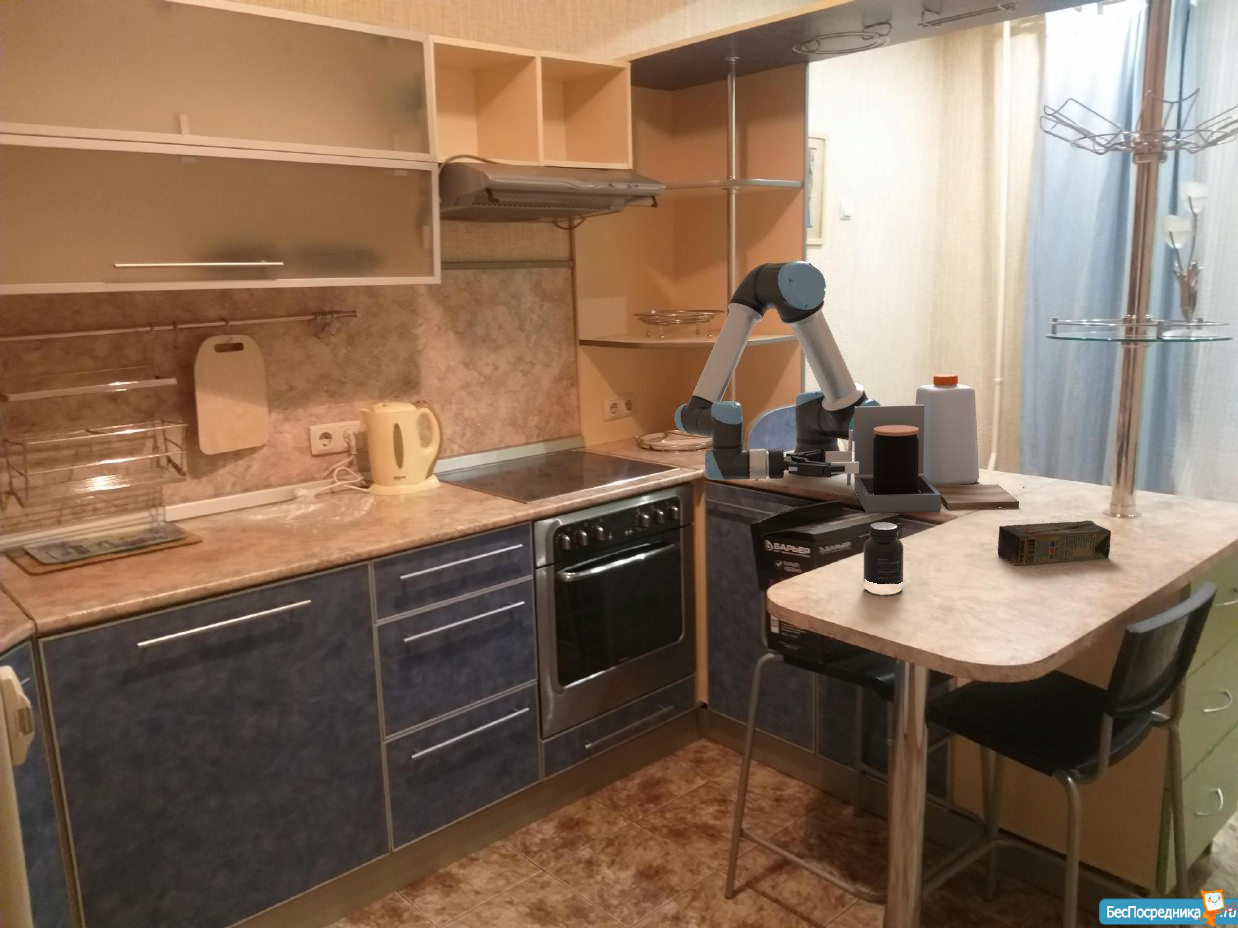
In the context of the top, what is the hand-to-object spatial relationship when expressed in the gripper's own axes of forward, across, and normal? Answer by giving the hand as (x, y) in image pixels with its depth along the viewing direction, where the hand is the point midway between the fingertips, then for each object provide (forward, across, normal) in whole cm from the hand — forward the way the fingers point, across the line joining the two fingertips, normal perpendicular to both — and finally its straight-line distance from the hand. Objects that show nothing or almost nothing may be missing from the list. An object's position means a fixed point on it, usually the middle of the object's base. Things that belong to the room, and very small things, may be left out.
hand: (855, 461), depth 229 cm
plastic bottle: (+26, -22, -10) cm, 35 cm away
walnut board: (+28, 0, -10) cm, 30 cm away
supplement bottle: (-3, +66, -10) cm, 67 cm away
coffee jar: (+10, 0, -10) cm, 14 cm away
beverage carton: (+32, +47, -10) cm, 58 cm away
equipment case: (+9, -3, -10) cm, 14 cm away
